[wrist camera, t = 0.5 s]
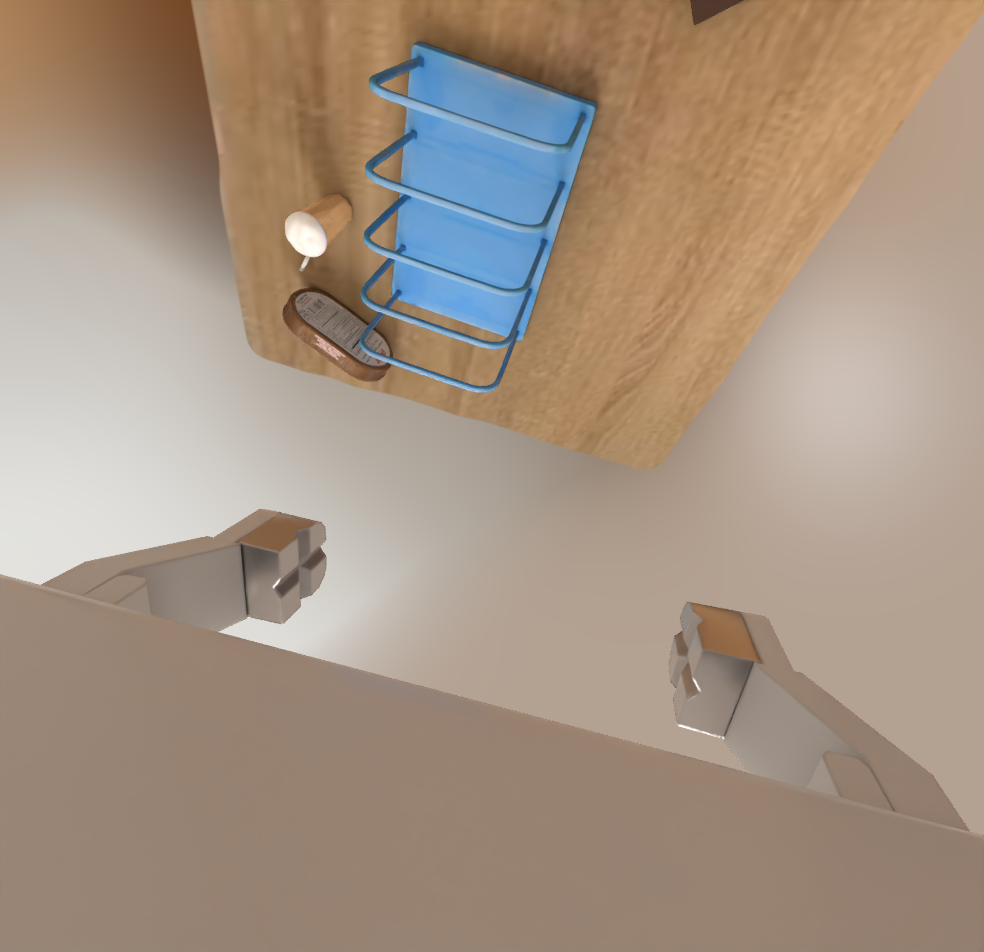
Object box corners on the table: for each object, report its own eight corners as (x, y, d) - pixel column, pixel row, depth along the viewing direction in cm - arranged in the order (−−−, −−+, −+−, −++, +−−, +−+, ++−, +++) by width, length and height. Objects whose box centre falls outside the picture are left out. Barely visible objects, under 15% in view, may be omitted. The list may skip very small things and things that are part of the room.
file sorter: (524, 334, 64) (496, 408, 54) (396, 290, 64) (343, 355, 53) (599, 102, 45) (577, 147, 35) (418, 39, 45) (343, 65, 35)
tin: (301, 291, 67) (268, 321, 62) (309, 274, 65) (275, 304, 60) (394, 360, 72) (371, 395, 66) (404, 346, 70) (381, 381, 64)
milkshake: (324, 230, 60) (280, 265, 54) (319, 182, 56) (272, 213, 50) (359, 240, 60) (320, 276, 54) (357, 193, 56) (315, 225, 50)
